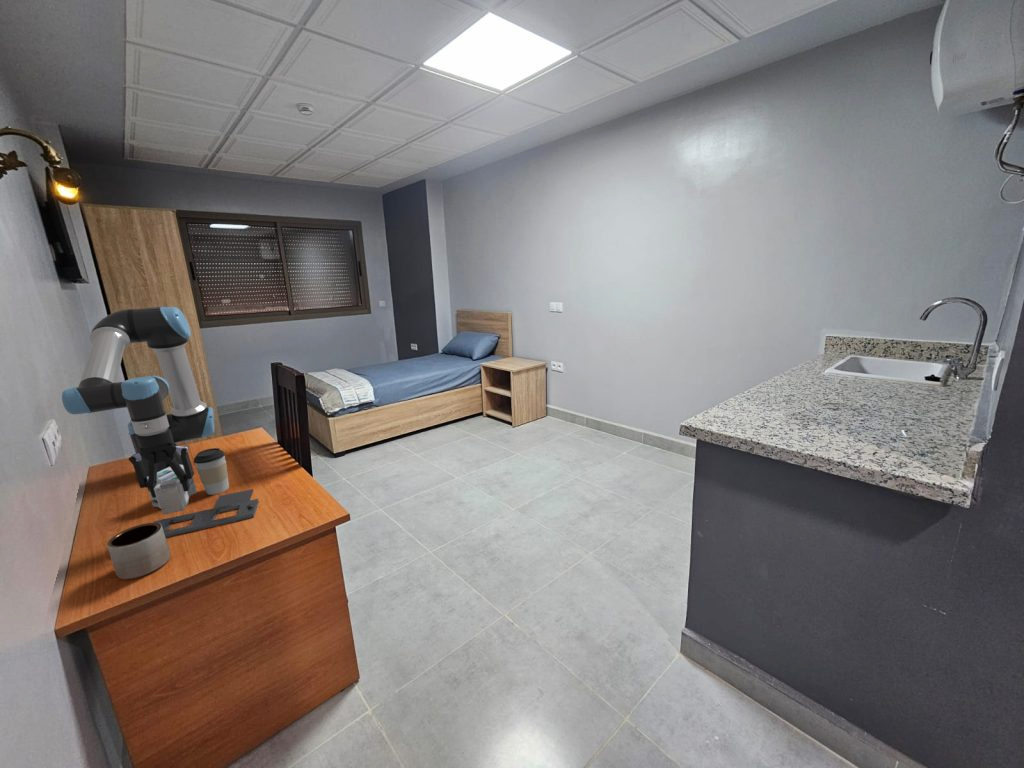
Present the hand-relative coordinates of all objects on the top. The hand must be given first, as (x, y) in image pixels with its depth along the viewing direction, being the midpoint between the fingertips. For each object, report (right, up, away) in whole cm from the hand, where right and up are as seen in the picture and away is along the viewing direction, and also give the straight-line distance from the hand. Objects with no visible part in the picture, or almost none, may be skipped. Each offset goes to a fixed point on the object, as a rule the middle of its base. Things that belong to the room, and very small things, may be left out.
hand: (174, 503), depth 123 cm
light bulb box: (-14, -4, +18) cm, 23 cm away
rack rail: (+6, -7, +4) cm, 10 cm away
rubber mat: (+8, -4, +15) cm, 17 cm away
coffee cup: (-4, -2, +23) cm, 24 cm away
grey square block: (0, -2, 0) cm, 2 cm away
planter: (+5, -12, -15) cm, 20 cm away
